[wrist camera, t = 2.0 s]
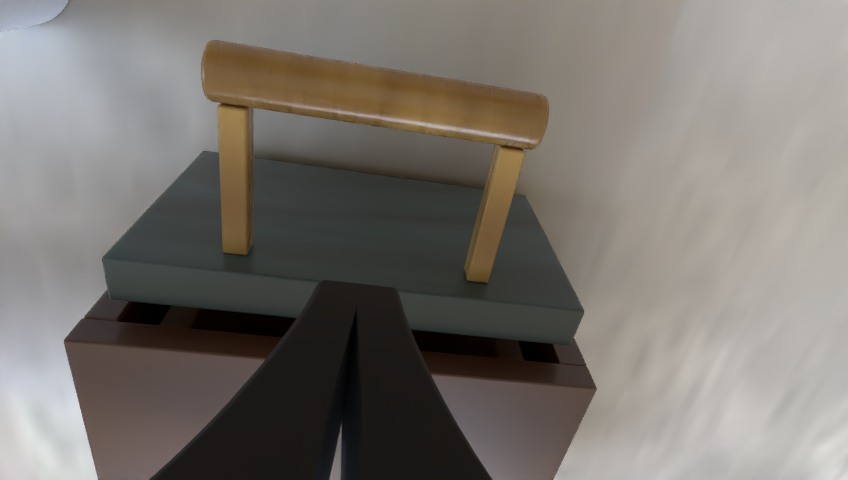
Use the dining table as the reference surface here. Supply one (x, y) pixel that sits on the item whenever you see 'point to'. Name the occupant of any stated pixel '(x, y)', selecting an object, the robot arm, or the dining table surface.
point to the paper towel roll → (28, 12)
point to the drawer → (351, 214)
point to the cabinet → (244, 353)
